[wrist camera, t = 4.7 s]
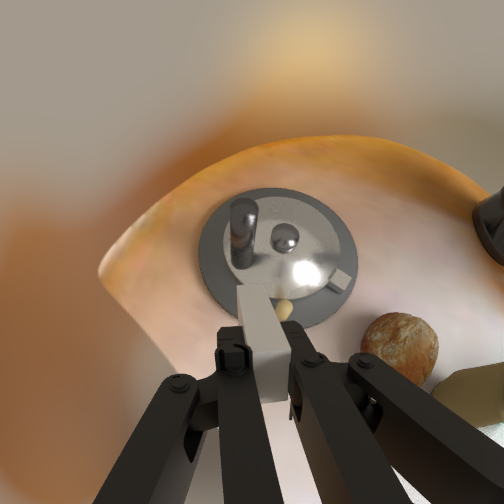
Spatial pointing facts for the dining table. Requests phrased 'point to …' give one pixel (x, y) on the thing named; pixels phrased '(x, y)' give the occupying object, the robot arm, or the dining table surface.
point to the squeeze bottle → (474, 394)
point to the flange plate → (298, 263)
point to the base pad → (229, 283)
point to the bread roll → (403, 345)
